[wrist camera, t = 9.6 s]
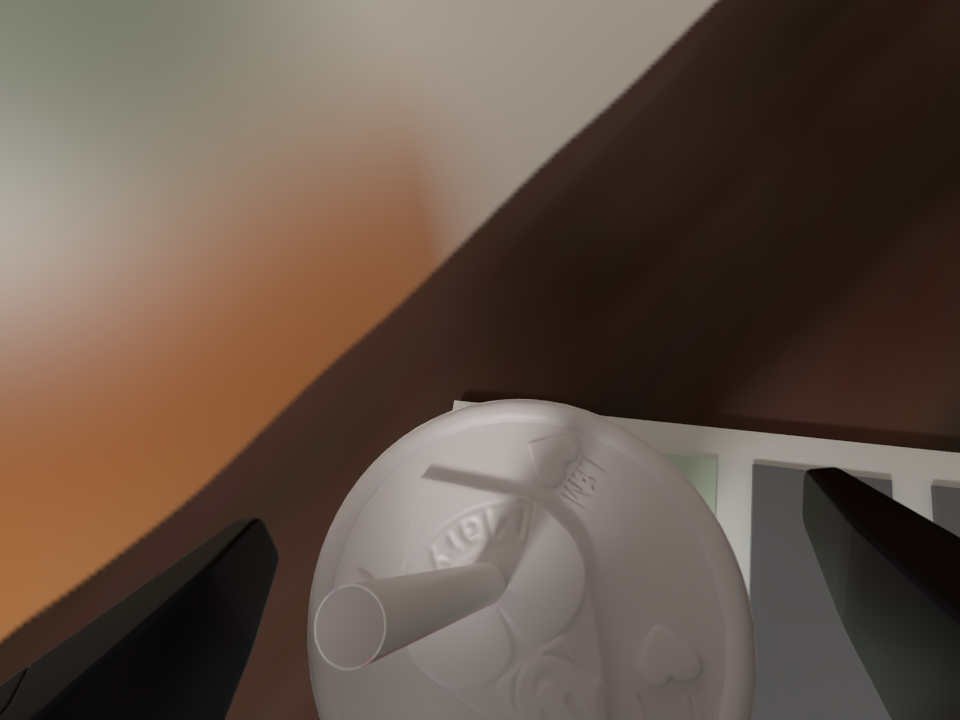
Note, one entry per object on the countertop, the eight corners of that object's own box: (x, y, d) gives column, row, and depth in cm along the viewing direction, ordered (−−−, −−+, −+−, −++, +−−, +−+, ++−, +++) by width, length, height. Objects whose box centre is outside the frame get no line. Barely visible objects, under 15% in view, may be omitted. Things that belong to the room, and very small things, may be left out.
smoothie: (591, 428, 18) (507, 128, 5) (735, 613, 15) (1333, 1002, 2) (429, 545, 18) (-76, 559, 5) (547, 748, 15) (155, 1820, 3)
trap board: (1130, 919, 12) (1157, 939, 12) (404, 720, 17) (396, 726, 17) (1071, 468, 15) (1090, 465, 15) (458, 403, 20) (452, 398, 19)
